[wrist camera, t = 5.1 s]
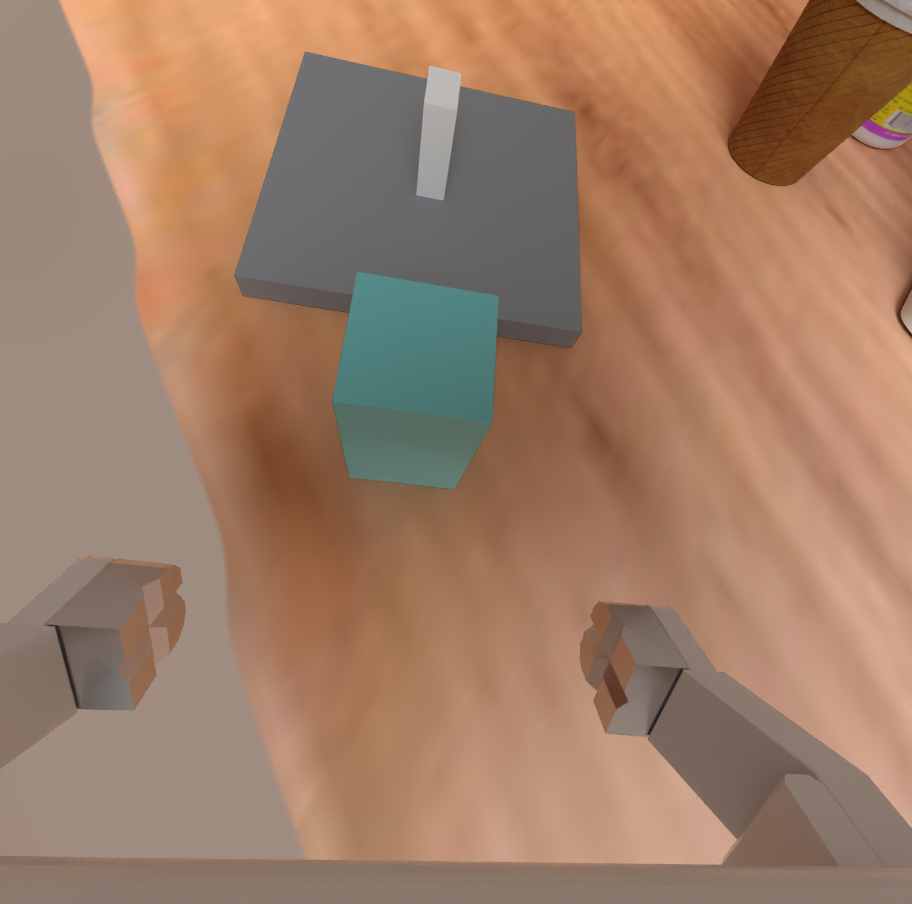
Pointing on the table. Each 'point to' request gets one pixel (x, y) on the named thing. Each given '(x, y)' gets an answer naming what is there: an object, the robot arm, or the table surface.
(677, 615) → the robot arm
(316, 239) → the base
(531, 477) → the table surface
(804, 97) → the disposable coffee cup
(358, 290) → the teal rectangular block
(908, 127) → the supplement bottle
